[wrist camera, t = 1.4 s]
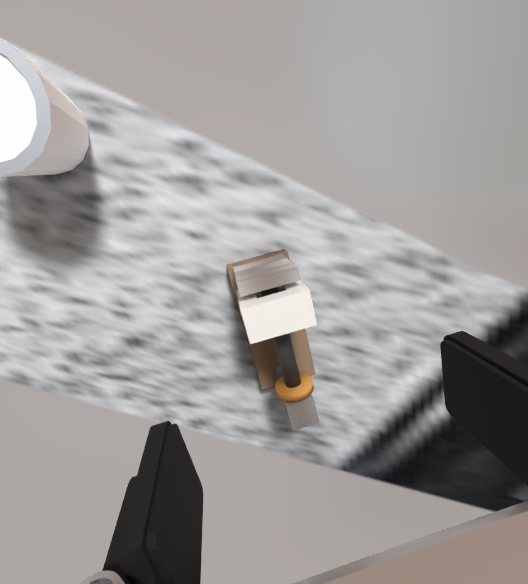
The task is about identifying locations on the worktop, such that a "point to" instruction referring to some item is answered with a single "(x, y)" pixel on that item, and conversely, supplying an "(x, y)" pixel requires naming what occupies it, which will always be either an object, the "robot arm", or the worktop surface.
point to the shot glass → (36, 121)
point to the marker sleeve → (277, 312)
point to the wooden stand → (279, 338)
